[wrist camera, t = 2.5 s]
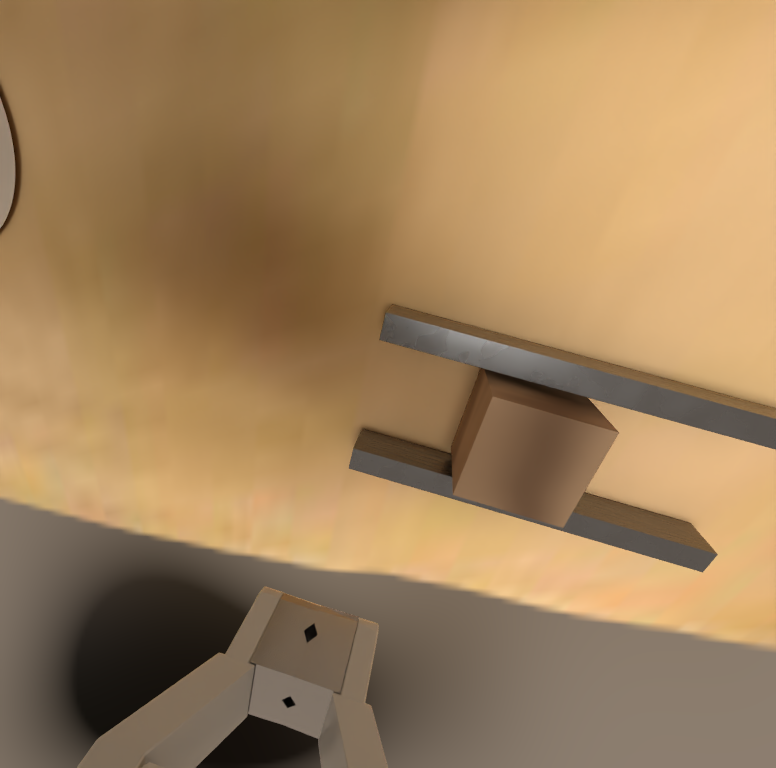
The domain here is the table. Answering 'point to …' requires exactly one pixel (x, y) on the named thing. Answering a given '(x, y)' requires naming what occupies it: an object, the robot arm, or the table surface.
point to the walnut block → (528, 447)
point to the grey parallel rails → (580, 378)
